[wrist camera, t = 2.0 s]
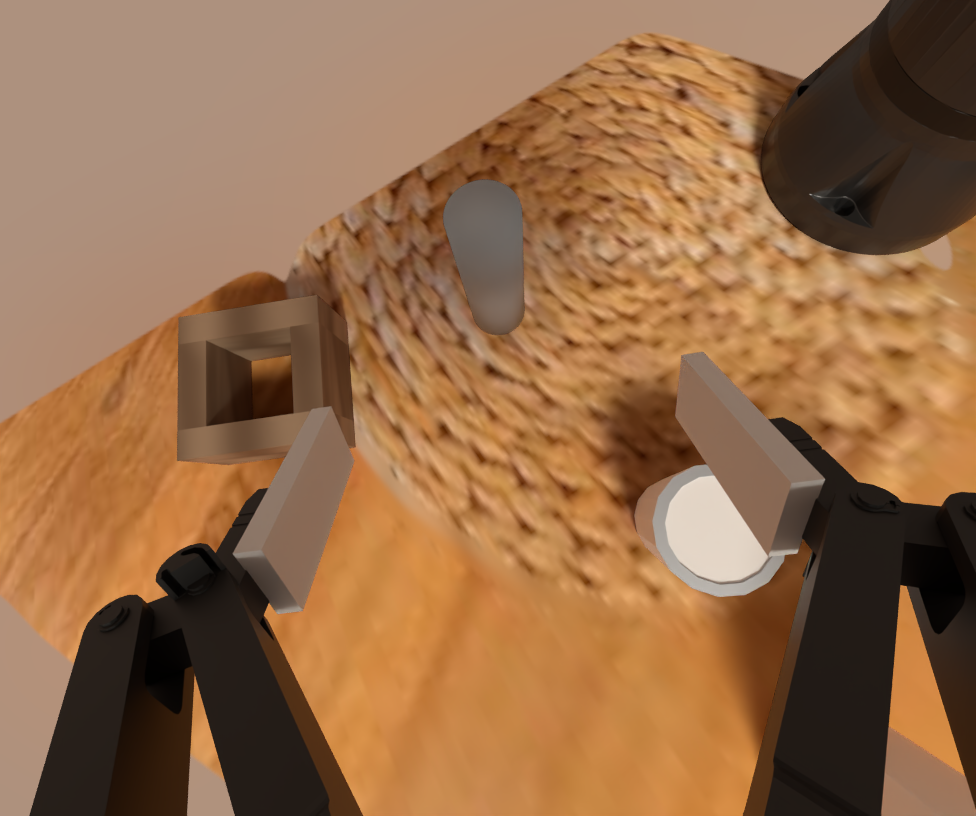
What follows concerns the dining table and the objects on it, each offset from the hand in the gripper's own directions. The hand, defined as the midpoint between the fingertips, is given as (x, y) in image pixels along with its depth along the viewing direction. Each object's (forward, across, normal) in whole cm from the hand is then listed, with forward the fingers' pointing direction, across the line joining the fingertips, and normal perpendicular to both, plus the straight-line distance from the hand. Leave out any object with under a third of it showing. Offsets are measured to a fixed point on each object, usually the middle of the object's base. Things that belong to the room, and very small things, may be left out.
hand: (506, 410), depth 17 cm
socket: (+16, -17, -6) cm, 24 cm away
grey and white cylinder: (+7, +10, -15) cm, 20 cm away
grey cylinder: (+18, 0, -3) cm, 19 cm away
